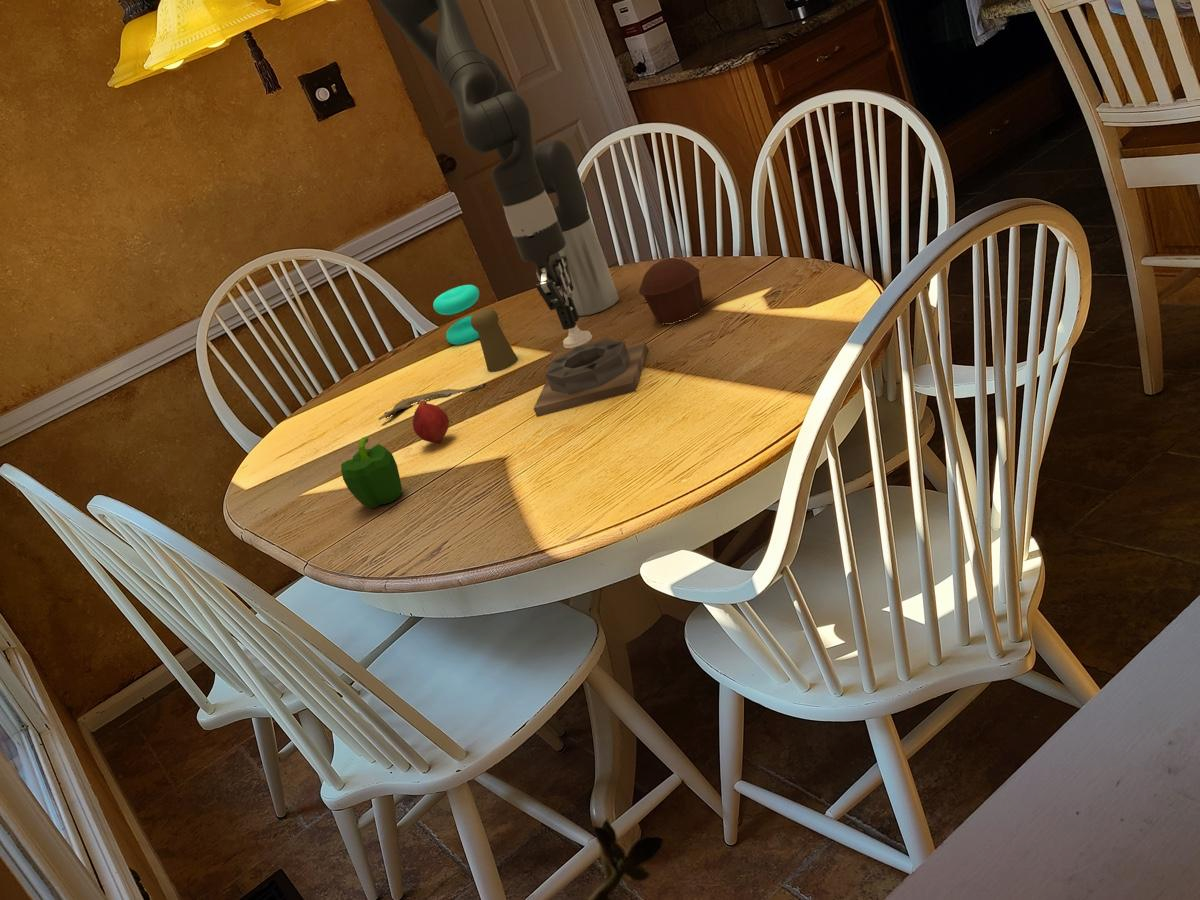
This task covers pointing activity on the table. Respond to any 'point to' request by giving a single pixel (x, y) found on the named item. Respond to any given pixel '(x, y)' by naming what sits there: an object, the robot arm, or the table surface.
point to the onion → (430, 422)
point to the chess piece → (576, 336)
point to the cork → (493, 340)
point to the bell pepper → (372, 475)
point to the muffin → (672, 290)
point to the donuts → (456, 303)
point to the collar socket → (591, 375)
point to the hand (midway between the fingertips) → (571, 324)
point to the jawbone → (409, 401)
